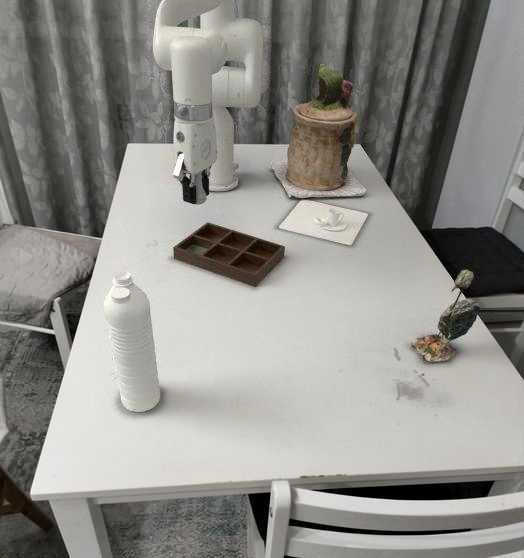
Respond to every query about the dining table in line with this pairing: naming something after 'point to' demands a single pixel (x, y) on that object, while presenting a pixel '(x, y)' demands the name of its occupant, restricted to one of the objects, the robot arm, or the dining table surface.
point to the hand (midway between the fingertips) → (196, 197)
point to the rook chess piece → (199, 189)
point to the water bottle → (132, 343)
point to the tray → (229, 253)
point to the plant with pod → (450, 324)
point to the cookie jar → (321, 143)
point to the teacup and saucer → (324, 221)
